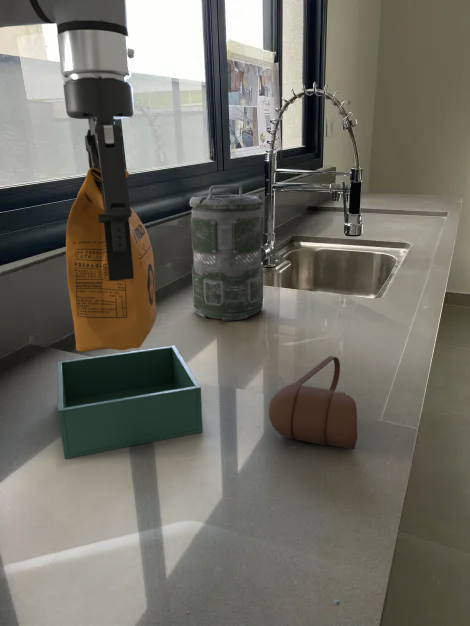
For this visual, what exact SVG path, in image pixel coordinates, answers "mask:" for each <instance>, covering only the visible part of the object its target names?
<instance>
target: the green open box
mask: <svg viewBox="0 0 470 626" xmlns="http://www.w3.org/2000/svg"><path fill="white" fill-rule="evenodd" d="M56 366H57V367H56V368H57V369H56V370H57V374H56V375H57V415H58V422H59V430H60V436H61V442H62V450H63V456H64V457H63V458H64V459H65V460H67V459H72V458H78V457H82V456H87V455H92V454H97V453H102V452H108V451H112V450H117V449H123V448H129V447H134V446H138V445H143V444H148V443H154V442H158V441H164V440H168V439H173V438H179V437H183V436H189V435H195V434H199V433H203V431H204V430H203V407H202V406H203V405H202V404H203V403H202V387H201V385H200V384H199V382H198V380H197V379H196V378H195V375H194V374H193V373H192V371H191V369H190V367H189V366H188V365H187V363H186V361H185V360H184V358H183V357H182V355H181V353H180V352H179V350H178V349H177V347H176V346H175V345H169V346H162V347H155V348H147V349H140V350H133V351H126V352H119V353H112V354H104V355H96V356H89V357H82V358H74V359H68V360H59V361H57V362H56Z"/></svg>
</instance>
